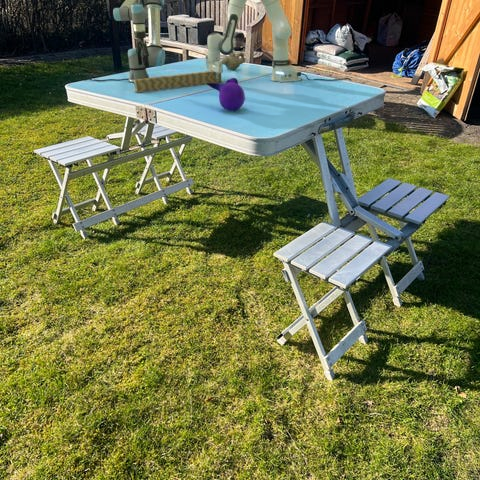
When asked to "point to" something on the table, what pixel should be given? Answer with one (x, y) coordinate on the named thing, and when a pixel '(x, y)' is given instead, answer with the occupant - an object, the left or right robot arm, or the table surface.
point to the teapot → (233, 61)
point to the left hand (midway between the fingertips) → (143, 66)
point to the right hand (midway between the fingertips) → (215, 77)
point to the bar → (175, 81)
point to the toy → (230, 94)
